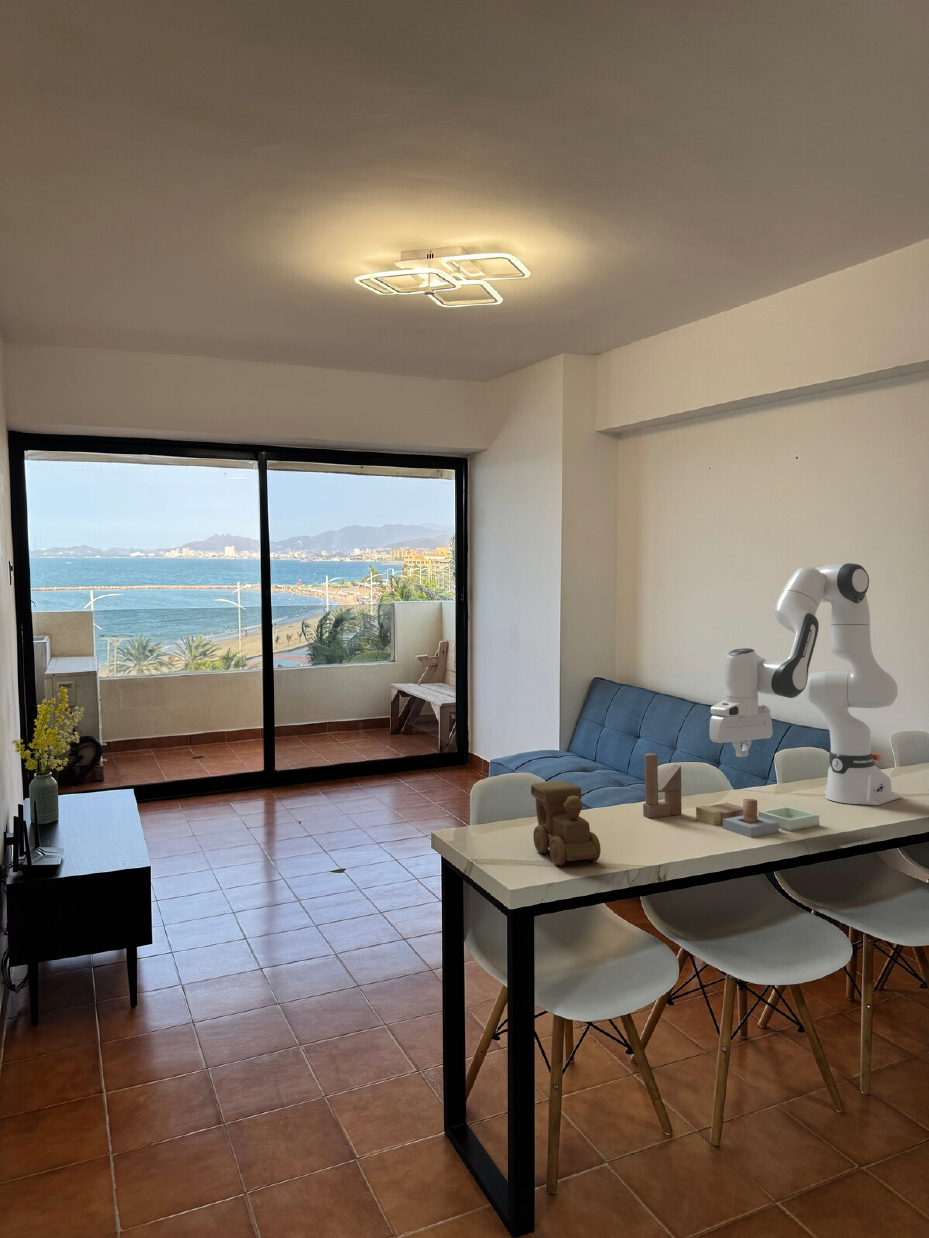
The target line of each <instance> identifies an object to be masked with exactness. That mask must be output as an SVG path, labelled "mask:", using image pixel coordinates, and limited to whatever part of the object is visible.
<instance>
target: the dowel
mask: <svg viewBox="0 0 929 1238" xmlns="http://www.w3.org/2000/svg"><path fill="white" fill-rule="evenodd" d="M742 807H743V822H745V823H748V824H754V823H758V818H757V816H758V800H757V799H754V798H744V799H743V800H742Z"/></svg>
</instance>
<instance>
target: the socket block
mask: <svg viewBox="0 0 929 1238" xmlns="http://www.w3.org/2000/svg"><path fill="white" fill-rule="evenodd" d="M757 818H758V823H754V824H748V823H745V822H743V815H742V816H737V817H731V818H726V819H723V824H722V829H725V830H727V831H729V832H730V831H731V832H732V833H733V832H734V833H736V834H740V835H743V836H746V837H749V838H755V837H759V836H764V835H769V834H773V833H778V832H779V822H776V821H772V820H769V819H765V818H762V817H759V815H757Z"/></svg>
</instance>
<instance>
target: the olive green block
mask: <svg viewBox="0 0 929 1238" xmlns="http://www.w3.org/2000/svg"><path fill="white" fill-rule="evenodd" d="M707 806H708V805H707ZM707 806H706V805H700V806H696V807H695V816H696V818H695V819H696V820H698V821H700V822H703V823H706V824H709V825H712V826H717V825H723V824H722V811H720V810H717V809H713V808H710V807H707Z"/></svg>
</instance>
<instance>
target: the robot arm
mask: <svg viewBox="0 0 929 1238" xmlns="http://www.w3.org/2000/svg"><path fill="white" fill-rule="evenodd" d="M869 577H870V576H869V574H868V572H867V570H866V569H865V567H864V566H862V565H861V564H856V563H849V562H848V563H834V564H833V563H832V564H827V565H822V566H818V567H811V566H802V567H799V568H798V569H796V570H795V571H794V572H793V573H792V574H791V576H790V577H789V578H788V580H786V583H785V585H784V587H783V588H782V590H781V592H780V593H779V595H778V598H777V600H776V602H775V604H774V605H775V606H774V609H773V610H774V615H775V618H776V620H777V621H778V623H779V624H780V625H782V626H783V627H784V628H785V629H786V630H788V631H790V632H792V633H794V640H793V643H792V646H791V649H790V653H789V656H788V657H787V658H786V659H783V660H776V659H775V660H773V659H772V660H771V659H765V658H763V657H762V656H760V655H758V654H757V653H756V650H755V649H752V648H747V647H746V648H745V647H743V648H736V649H733V650H730V651H729V652H728V653H727V656H726V659H725V664H724V683H725V687H726V689H725V693H724V699H723V700H721V701H720V702H717V703H716V704H714V705H712V706H710V714H712V716H710V720H709V739H710V740H711V742H712V743H718V744H724V743H731V744H732V747H733V749H734V750H735V756H736V757H738V758H743V757H748V756H749V750H750V747H751V745H752V741H753V740H754V741H755V740H763V739H770V738H771V737H772V736H773V734H774V733H773V729H774V728H773V722H772V716H771V710H770V709H769V707H768V706H767V705H765V704H762V705H759V694H764V695H771V696H772V695H773V696H779V697H783V698H787V699H794V698H797V697H799V695H800V694H802V693H803V691H804V694H805V696H806V698H807V700H808V701H809V702H810V703H812V704H813V705H814V706H815V707H816V708H818V709H819V710H820V712H821V713H822V714H823V716H824V717H825V720H826V722H827V725H828V729H829V739H830V751H829V755H828V759H829V760H828V762H829V764H830V767H828V769H827V779H826V780H827V781H826V789H824V791H823V792H824V795H825V798H826V799H827V800H830V801H834V802H836V803H841V804H850V805H869V806H881V805H883V804H887V803H889V802H892V801H895V800H897V799H900V798H901V794H900V793H898V792H896V791H893V789H892V783H891V778H890V777H889V776H888V774H886V773H885V772H883V771H882V770H881V769H880V768H879V767H877V765H876V762H875V761H877V762H879V761H880V760H881V757H882V756H881V754H880V753H874V752H873V753H871V751H872V750H871V748H872V747H871V744H872V742H871V729H870V727H869V725H867V723H865V722H864V721H862V720H861V719H859V718H856V717H854V716H853V715H852V714H851V713H850V712H849V708H859V709H860V708H862V709H863V708H864V709H878V708H879V709H880V708H885V707H890V706H892V704H893V703H894V702H895V701H896V699H897V698H898V694H899V693H898V691H899V689H898V684H897V681H896V679H894V677H893V676H892V675H890V674H889V673H888V672H886V671H885V670H884V669H883V668H882V667H881V666H880V664H879V663H878V661H877V660H876V659H875V656H874V654H873V650H872V643H871V641H872V639H871V614H870V606H869V601H868V596H867V592H868V590H869V586H870V578H869ZM828 602H829V603H830V605H831V612H830V627H829V628H830V630H829V631H830V635H829V637H830V638H829V639H830V643H829V645H830V650H831V652H832V653H833V654H834V655H835V656H837V657H839V658H840V659H842V660H844V661H847V662H849V663H850V665H851V668H852V670H830V669H829V670H821V671H815V672H811V673H810V674H809V670H810V669H809V668H810V665H811V660H812V657H813V653H814V649H815V647H816V642H817V638H818V634H819V626H820V625H819V620H818V618H817V617H816V613H817V611H818V608H819V606H820V603H828Z"/></svg>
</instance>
